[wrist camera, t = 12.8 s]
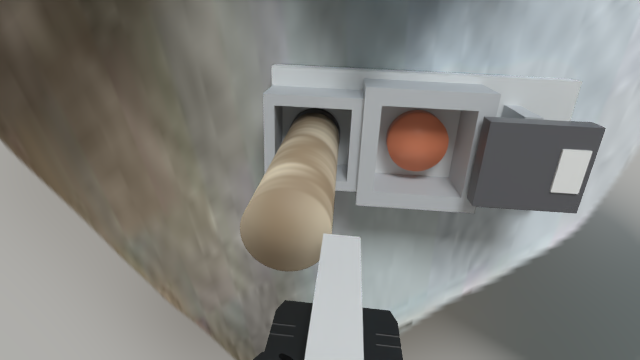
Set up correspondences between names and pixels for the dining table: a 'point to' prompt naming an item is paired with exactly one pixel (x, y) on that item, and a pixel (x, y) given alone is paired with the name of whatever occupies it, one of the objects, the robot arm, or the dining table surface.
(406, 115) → the orange round button
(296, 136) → the tan banded rod
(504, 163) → the plate
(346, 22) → the dining table surface
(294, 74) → the grey slotted holder
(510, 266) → the dining table surface
